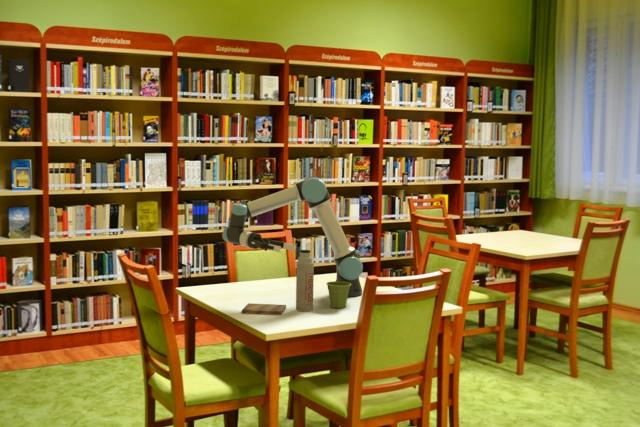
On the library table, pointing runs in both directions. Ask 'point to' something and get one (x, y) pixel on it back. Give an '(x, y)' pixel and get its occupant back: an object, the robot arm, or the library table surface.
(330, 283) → the plant pot
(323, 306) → the library table surface
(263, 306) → the walnut board
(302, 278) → the thermos bottle
